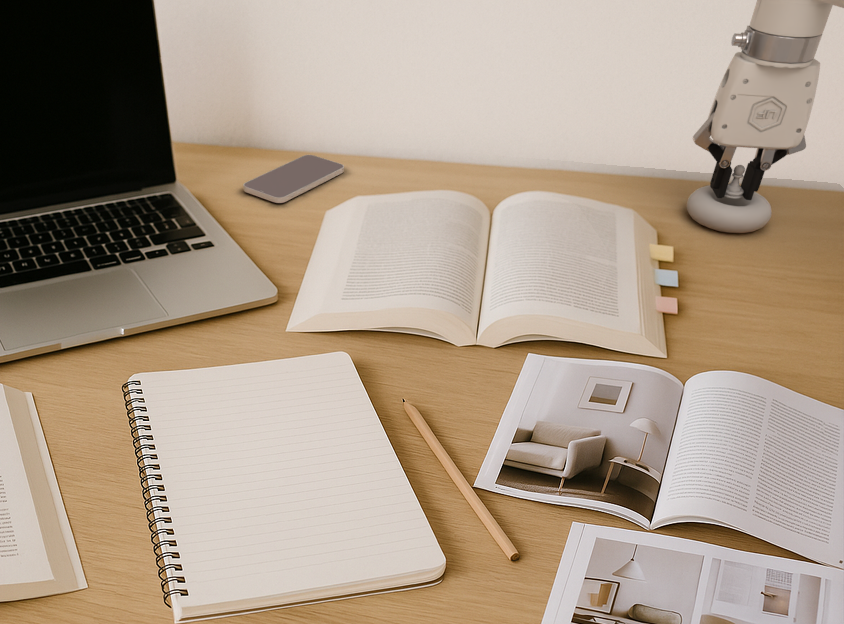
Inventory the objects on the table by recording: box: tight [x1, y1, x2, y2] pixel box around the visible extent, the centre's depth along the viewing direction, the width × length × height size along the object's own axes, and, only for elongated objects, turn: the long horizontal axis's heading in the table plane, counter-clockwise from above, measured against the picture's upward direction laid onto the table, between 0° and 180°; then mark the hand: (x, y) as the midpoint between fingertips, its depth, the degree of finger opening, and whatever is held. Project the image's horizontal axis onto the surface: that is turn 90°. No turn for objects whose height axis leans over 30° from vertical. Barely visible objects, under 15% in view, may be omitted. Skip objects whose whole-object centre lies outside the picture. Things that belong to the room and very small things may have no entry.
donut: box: [686, 184, 773, 234], centre depth 108 cm, size 10×4×10 cm
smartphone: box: [242, 154, 345, 204], centre depth 119 cm, size 7×1×15 cm
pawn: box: [724, 164, 746, 199], centre depth 106 cm, size 3×3×4 cm
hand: (731, 193), depth 107 cm, fingers closed on pawn, 2 cm apart
